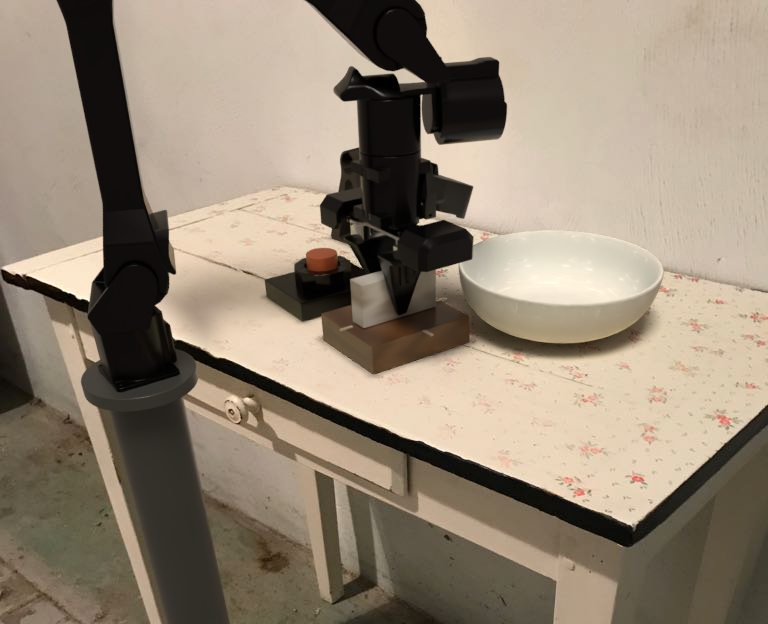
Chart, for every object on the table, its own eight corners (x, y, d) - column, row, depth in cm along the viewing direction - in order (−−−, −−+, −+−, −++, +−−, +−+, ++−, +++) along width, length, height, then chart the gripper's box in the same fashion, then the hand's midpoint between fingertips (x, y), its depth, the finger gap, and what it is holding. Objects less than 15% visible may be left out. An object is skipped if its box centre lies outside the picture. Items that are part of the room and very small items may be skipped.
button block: (302, 321, 92) (299, 287, 89) (266, 297, 98) (262, 264, 96) (384, 298, 96) (383, 264, 94) (345, 275, 103) (343, 244, 100)
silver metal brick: (363, 328, 83) (361, 283, 80) (352, 321, 84) (349, 276, 81) (436, 306, 86) (436, 262, 84) (423, 300, 88) (423, 256, 85)
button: (316, 276, 93) (315, 260, 92) (301, 267, 96) (300, 252, 94) (343, 268, 95) (342, 253, 94) (328, 260, 97) (327, 245, 96)
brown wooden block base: (377, 382, 80) (375, 352, 78) (311, 336, 89) (308, 308, 87) (483, 346, 85) (484, 317, 83) (411, 306, 94) (410, 279, 92)
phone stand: (406, 241, 112) (405, 148, 105) (374, 253, 109) (370, 157, 102) (363, 227, 117) (358, 137, 110) (330, 238, 114) (324, 146, 107)
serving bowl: (500, 382, 79) (504, 314, 75) (432, 301, 95) (432, 242, 91) (692, 350, 83) (706, 284, 79) (596, 278, 99) (603, 220, 95)
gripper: (524, 153, 73) (513, 319, 82) (405, 119, 85) (407, 266, 95) (421, 176, 68) (422, 349, 77) (311, 137, 81) (324, 289, 90)
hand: (394, 309), depth 85 cm, fingers closed on silver metal brick, 2 cm apart
